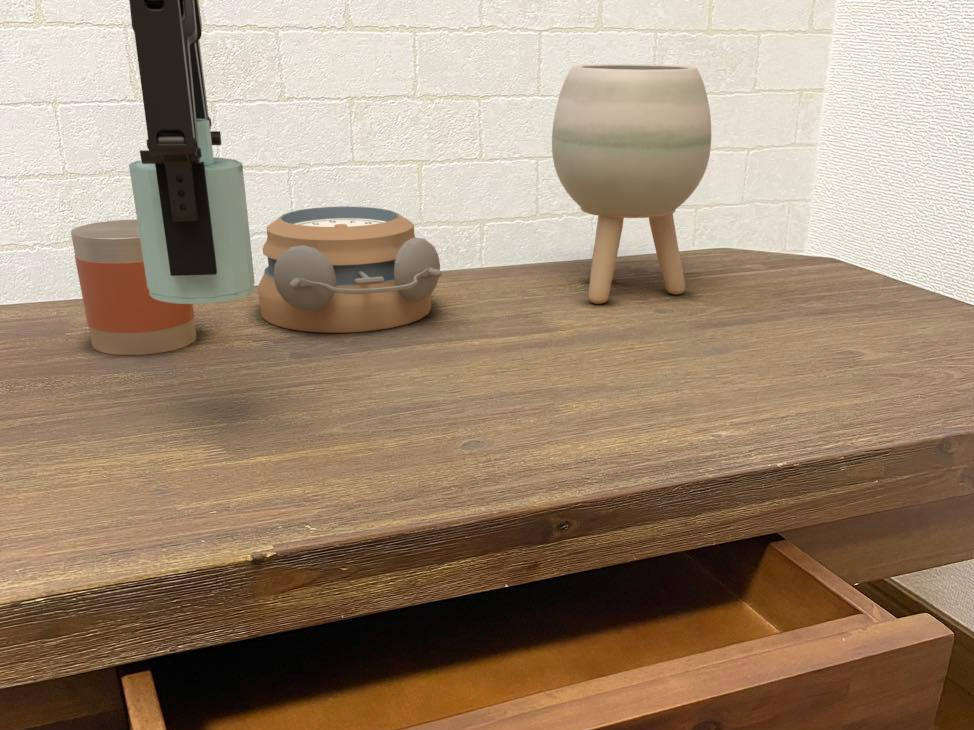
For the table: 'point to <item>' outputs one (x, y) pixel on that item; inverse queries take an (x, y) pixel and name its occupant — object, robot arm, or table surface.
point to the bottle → (226, 230)
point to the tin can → (125, 294)
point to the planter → (632, 155)
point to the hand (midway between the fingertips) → (198, 260)
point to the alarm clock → (346, 271)
